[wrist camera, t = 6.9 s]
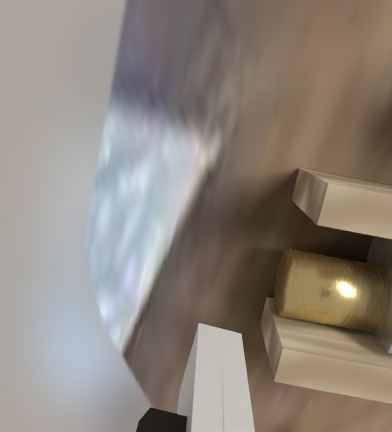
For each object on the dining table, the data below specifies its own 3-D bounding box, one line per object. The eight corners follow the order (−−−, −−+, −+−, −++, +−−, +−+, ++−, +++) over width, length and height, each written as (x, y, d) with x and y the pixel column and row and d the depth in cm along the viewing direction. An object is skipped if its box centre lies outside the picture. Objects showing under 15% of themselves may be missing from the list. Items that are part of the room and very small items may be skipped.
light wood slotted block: (299, 168, 25) (328, 183, 19) (415, 189, 25) (483, 212, 19) (260, 323, 28) (273, 381, 22) (363, 342, 28) (407, 406, 22)
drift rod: (293, 236, 24) (294, 299, 22) (383, 252, 24) (394, 318, 22) (274, 267, 28) (273, 325, 25) (352, 281, 28) (358, 341, 25)
